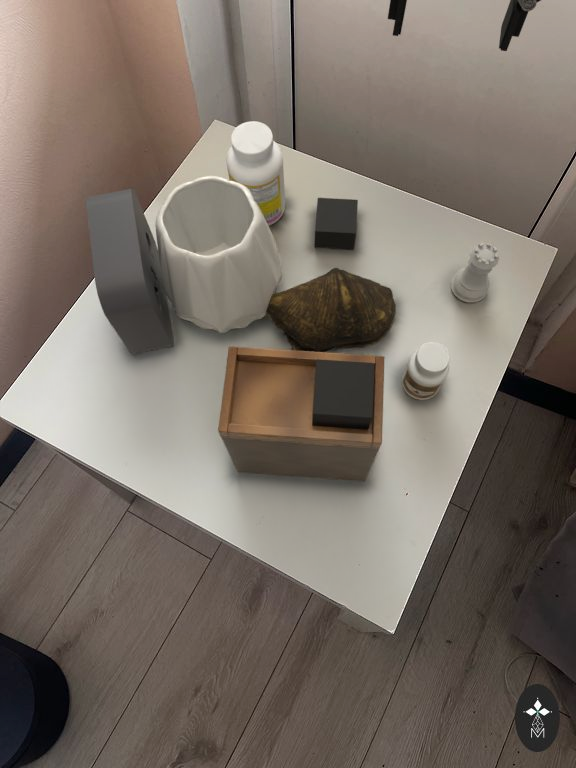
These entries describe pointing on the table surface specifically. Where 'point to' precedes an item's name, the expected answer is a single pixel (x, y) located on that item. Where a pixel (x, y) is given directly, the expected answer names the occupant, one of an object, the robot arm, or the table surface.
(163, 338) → the streaming box
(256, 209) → the vase
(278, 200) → the supplement bottle
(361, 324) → the seashell
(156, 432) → the table surface
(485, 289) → the rook chess piece
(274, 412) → the box
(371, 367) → the black square block
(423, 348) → the pill bottle
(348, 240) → the black cube
